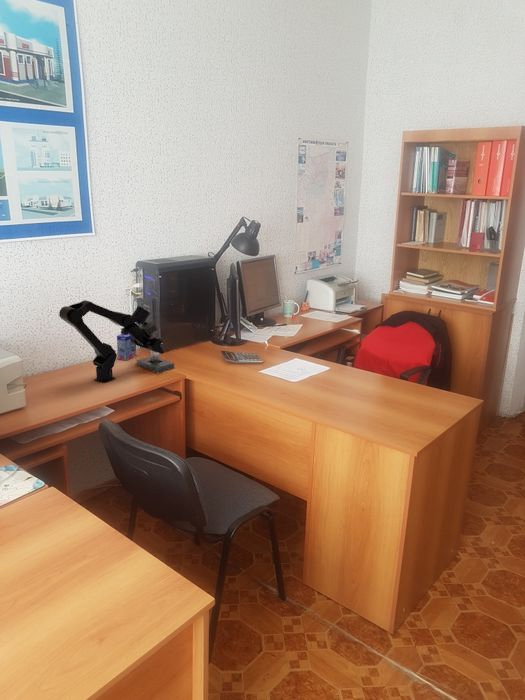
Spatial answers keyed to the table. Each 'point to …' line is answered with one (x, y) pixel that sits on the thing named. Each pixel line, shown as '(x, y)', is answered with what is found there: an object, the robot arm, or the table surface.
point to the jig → (157, 367)
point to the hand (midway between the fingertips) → (157, 350)
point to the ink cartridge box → (125, 347)
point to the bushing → (154, 357)
